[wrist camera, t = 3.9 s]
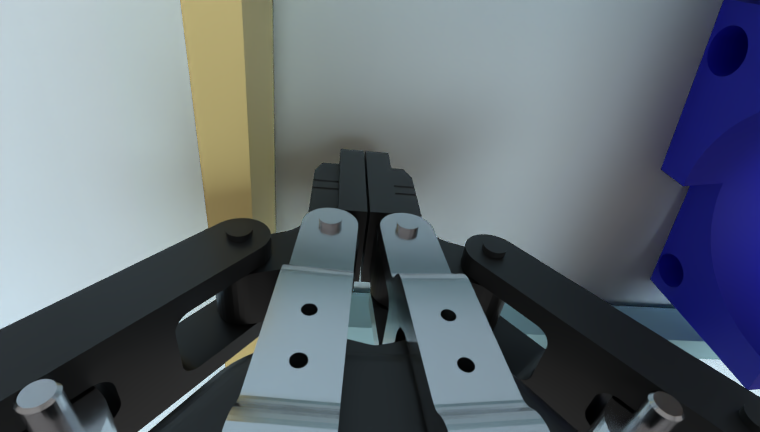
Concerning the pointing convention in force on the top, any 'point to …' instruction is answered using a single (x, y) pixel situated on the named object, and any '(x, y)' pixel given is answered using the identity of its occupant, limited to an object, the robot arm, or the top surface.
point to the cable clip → (720, 196)
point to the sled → (257, 152)
